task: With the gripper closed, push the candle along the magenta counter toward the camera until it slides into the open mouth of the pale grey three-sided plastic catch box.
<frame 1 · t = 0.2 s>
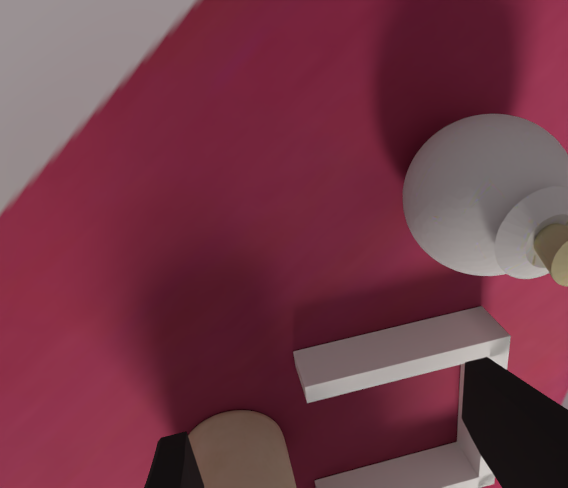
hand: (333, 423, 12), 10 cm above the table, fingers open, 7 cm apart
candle: (233, 443, 26), on the table
round potion bottle: (454, 177, 22), on the table
catch box: (375, 410, 27), on the table
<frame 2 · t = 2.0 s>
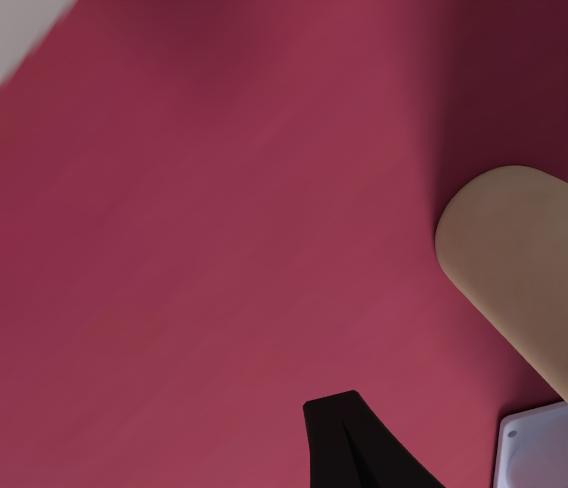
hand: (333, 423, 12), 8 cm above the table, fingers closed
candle: (493, 226, 20), on the table
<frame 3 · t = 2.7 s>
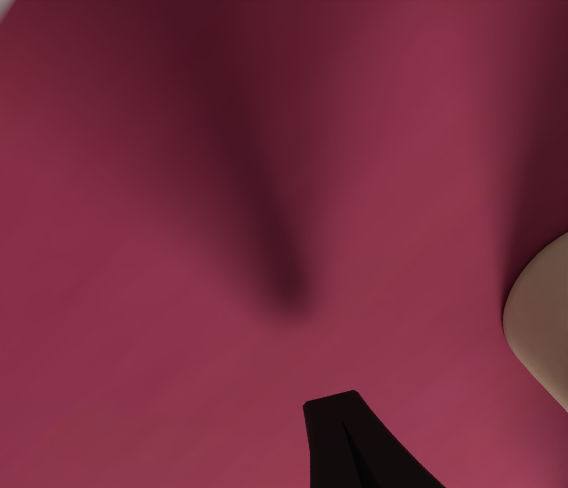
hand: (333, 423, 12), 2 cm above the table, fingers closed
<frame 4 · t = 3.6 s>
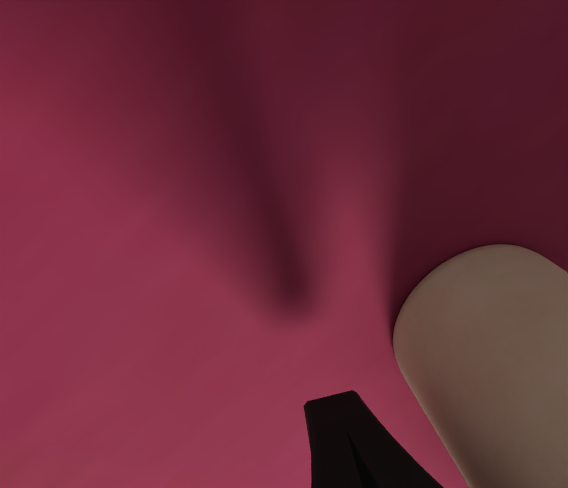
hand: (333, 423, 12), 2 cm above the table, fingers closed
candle: (471, 317, 15), on the table, touching gripper
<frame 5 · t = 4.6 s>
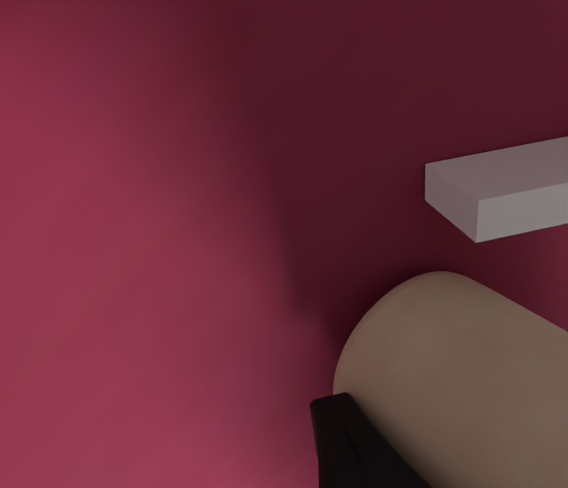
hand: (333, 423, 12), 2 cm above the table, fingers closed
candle: (406, 351, 14), point 1 cm above the table, touching gripper
catch box: (543, 307, 15), on the table
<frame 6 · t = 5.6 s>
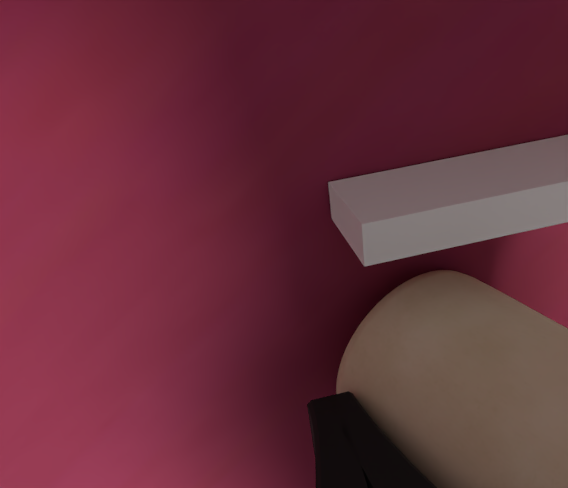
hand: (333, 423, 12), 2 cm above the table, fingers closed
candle: (408, 350, 14), point 1 cm above the table, touching gripper
catch box: (469, 323, 15), on the table
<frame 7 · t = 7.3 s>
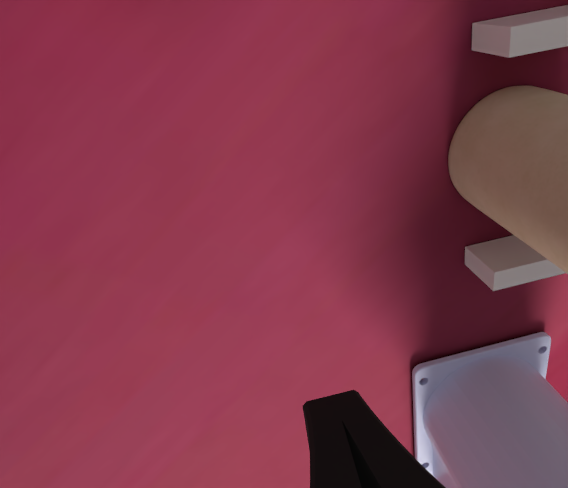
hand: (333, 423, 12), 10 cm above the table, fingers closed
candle: (501, 146, 22), on the table
catch box: (551, 140, 22), on the table
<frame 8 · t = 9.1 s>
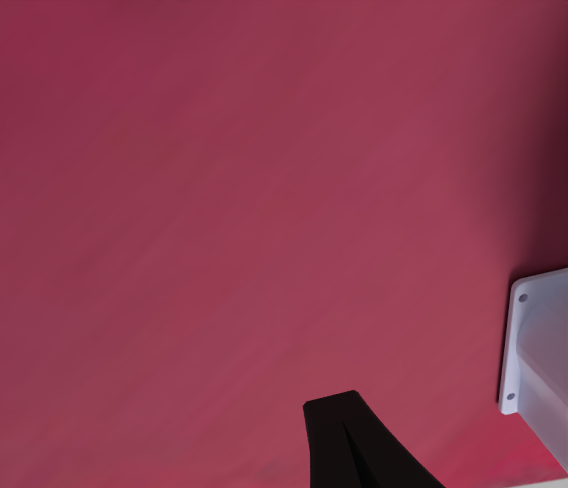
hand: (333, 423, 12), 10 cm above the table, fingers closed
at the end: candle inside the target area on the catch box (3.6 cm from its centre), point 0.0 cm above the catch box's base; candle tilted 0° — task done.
